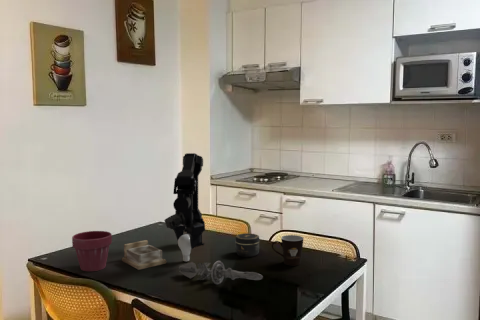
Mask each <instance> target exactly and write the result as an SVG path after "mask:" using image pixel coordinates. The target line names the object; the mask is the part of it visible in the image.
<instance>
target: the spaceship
mask: <svg viewBox="0 0 480 320" xmlns="http://www.w3.org/2000/svg"><path fill="white" fill-rule="evenodd" d="M211 264H212V262H203V263H199V262H198V263H197V265H196V263H194V261H191V262H186V263H184V264H183V263H182V265H181V264H180V265H179V267H178V268H177V269H179V271H178V272H179V273H180V274H181V275H183V276H184V277H187V278H189V279H193V278H194V277H195V276H196V275H197V276H199V275H200V276H199V277H197V279H196V280H197V281H199V280H200V281H201V280H202V281H204V280H211V281H212V283H213V284H214V285H221V283H223V281H224V278H229V279H231V280H232V281H235V280H236V279H239V278H240V279H247V280H252V281H260V280H263V279H264V276H263V275H262V274H260V273H258V272H255V271H239V270H235V269H232V268H231V267H228V268H227V269H226V268H225V265H224V263H223V262H222V261H221V260H217V261H215V262H214V263H213V264H212V266H211V267H209V266H210V265H211ZM197 266H198V268H197ZM208 267H209V268H208Z"/></svg>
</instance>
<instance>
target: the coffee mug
mask: <svg viewBox="0 0 480 320" xmlns="http://www.w3.org/2000/svg"><path fill="white" fill-rule="evenodd" d="M277 243H278V244H279V245H280V246H281V248H282V249H281V250H282V253H281V252H279V251H277V250H276V248H274V244H277ZM303 245H304V237H303V236H302V235H295V234H290V235H289V234H288V235H287V234H286V235H282V236H281V241H279V240H275V241H273V242H272V244H271V248H272V250H273V251H274V252H275V253H276V254H278V255H279V256H281V257H282V258H283V264H284V265H286V266H291V267H292V266H299V265H301V261H302V255H303Z"/></svg>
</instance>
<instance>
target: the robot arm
mask: <svg viewBox="0 0 480 320" xmlns="http://www.w3.org/2000/svg"><path fill="white" fill-rule="evenodd" d="M203 167H204V158H203V156H202V155H200V154H199V155H198V154H197V153H194V152H193V153H192V152H191V153H190V152H188V153H184V155H183V156H182V168H181V171H179V172H178V173H177V175H176V177H175V178H174V182H173V183H174V185H173V195H177V196H176V198H175V199H174V201H173V205H172V206H173V209H174V210H175V213H174V214H172V215H169V217H167V218H165V219H164V224H165V226H166V228H168V229H170V230H172V231H174V234H175V237H176V240H177V241H178V239H179V238H180V236H182V235H184V233H186V234H188V235H189V236H190V244H191V250H193V249H194V248H195V247H198V246H202V245H205V242H203V233H204V232H206V223H205V221H204V218H203V215H202V213H201V210H200V209H199V175H200V174H201V172H202V169H203Z"/></svg>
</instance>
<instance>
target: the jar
mask: <svg viewBox="0 0 480 320" xmlns="http://www.w3.org/2000/svg"><path fill="white" fill-rule="evenodd" d="M234 240H235V241H234V242H235V253H236V254H237V256H239V257H242V258H253V257H256V256H257V255H258V254H260V253H259V252H260V236H259V235H258V234H255V233H248V232H247V233H245V232H244V233H239V234H237V235H235V239H234Z"/></svg>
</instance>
